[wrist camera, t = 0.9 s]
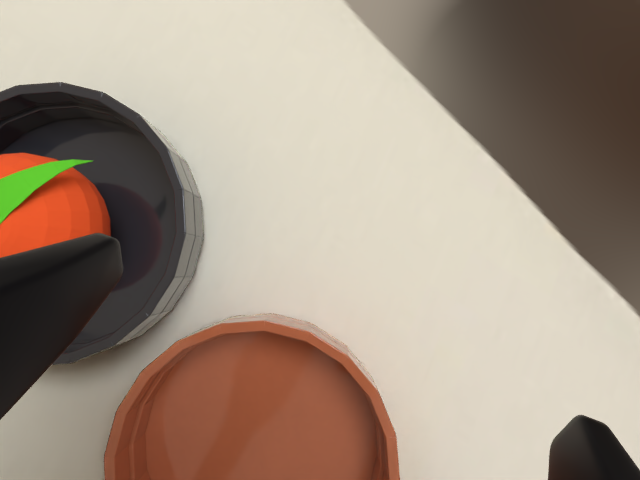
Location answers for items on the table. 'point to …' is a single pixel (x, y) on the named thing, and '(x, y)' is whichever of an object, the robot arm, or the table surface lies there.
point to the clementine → (46, 203)
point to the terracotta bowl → (253, 409)
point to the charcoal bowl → (116, 199)
